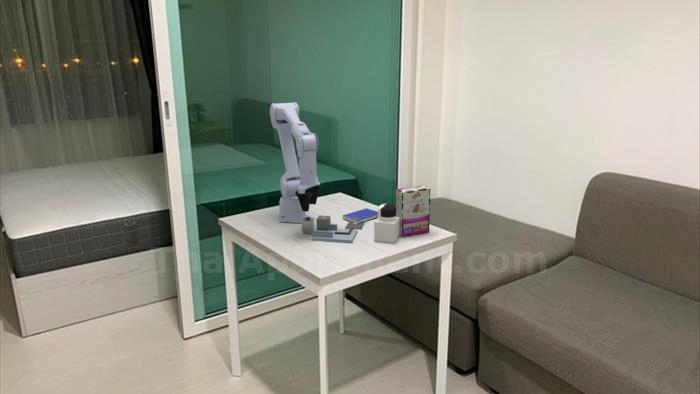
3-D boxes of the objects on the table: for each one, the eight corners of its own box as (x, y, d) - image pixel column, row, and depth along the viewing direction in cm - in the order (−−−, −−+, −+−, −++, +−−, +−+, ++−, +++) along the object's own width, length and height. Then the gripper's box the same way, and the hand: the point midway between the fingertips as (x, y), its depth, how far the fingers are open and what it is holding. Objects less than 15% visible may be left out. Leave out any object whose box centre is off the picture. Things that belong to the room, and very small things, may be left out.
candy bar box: (422, 228, 190) (423, 184, 185) (429, 232, 186) (431, 188, 181) (394, 232, 186) (395, 188, 181) (401, 237, 182) (402, 192, 177)
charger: (316, 234, 183) (316, 219, 181) (319, 230, 186) (319, 215, 185) (328, 234, 182) (327, 219, 180) (330, 230, 186) (330, 215, 184)
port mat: (345, 228, 190) (345, 227, 190) (348, 222, 196) (348, 222, 196) (361, 229, 189) (361, 228, 189) (364, 223, 195) (364, 223, 195)
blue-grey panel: (311, 240, 180) (311, 232, 179) (320, 227, 192) (320, 219, 191) (351, 243, 177) (351, 234, 176) (358, 229, 189) (358, 221, 188)
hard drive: (357, 219, 193) (381, 212, 202) (342, 214, 199) (365, 207, 207) (357, 223, 194) (381, 216, 202) (342, 218, 200) (365, 211, 208)
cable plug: (302, 234, 186) (301, 218, 184) (305, 230, 189) (304, 215, 187) (311, 234, 185) (311, 219, 183) (314, 231, 188) (314, 216, 187)
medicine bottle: (399, 236, 183) (400, 203, 179) (394, 243, 177) (395, 209, 173) (379, 233, 185) (380, 201, 182) (373, 241, 179) (374, 207, 175)
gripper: (312, 176, 172) (313, 215, 176) (325, 165, 186) (326, 202, 190) (291, 174, 174) (293, 213, 178) (306, 163, 187) (308, 200, 192)
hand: (309, 207), depth 184 cm, fingers open, 7 cm apart
